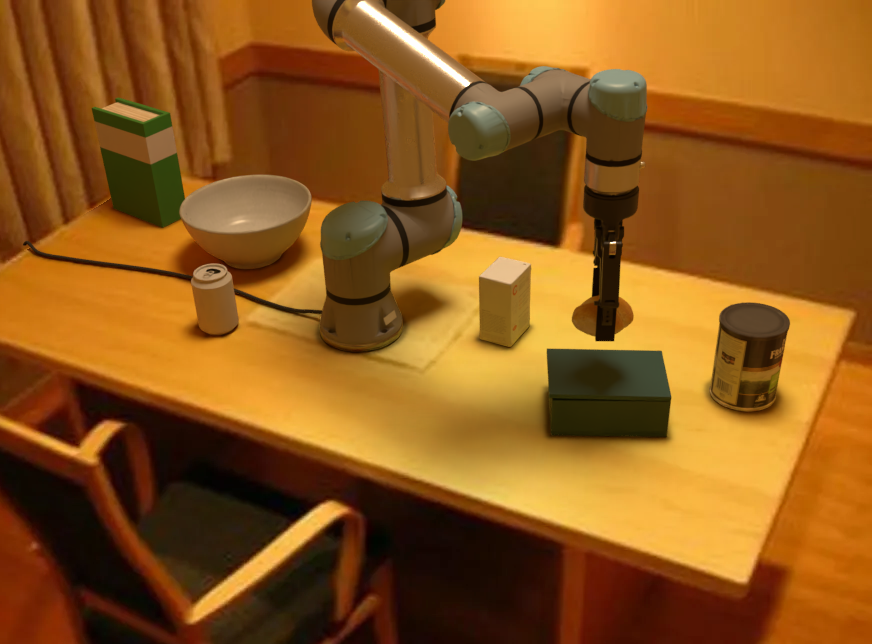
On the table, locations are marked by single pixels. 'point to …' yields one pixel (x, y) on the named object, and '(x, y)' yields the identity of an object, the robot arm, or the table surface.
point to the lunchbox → (608, 417)
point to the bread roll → (587, 316)
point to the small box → (504, 301)
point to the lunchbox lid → (607, 374)
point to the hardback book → (140, 161)
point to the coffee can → (748, 356)
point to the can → (214, 299)
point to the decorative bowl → (247, 218)
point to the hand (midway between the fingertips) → (602, 322)
